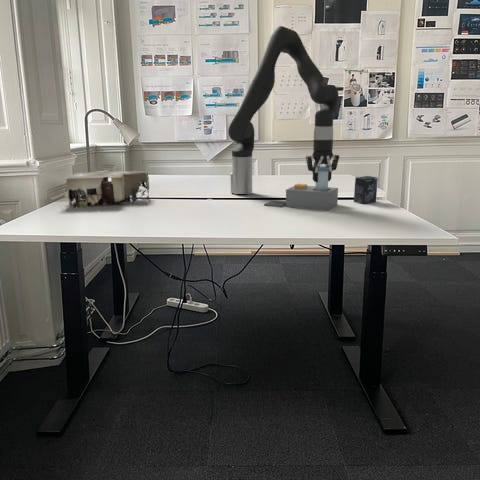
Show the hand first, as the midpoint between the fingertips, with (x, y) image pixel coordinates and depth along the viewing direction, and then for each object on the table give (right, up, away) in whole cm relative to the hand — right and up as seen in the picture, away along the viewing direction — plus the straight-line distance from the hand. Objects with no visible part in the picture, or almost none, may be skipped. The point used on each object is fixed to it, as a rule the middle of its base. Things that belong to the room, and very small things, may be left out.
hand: (321, 181), depth 195 cm
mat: (-18, -9, +7) cm, 21 cm away
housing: (-3, -9, +5) cm, 11 cm away
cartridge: (0, -6, +2) cm, 6 cm away
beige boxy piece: (-88, -8, +15) cm, 90 cm away
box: (+20, -8, +10) cm, 24 cm away
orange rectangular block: (-8, -6, +6) cm, 11 cm away
